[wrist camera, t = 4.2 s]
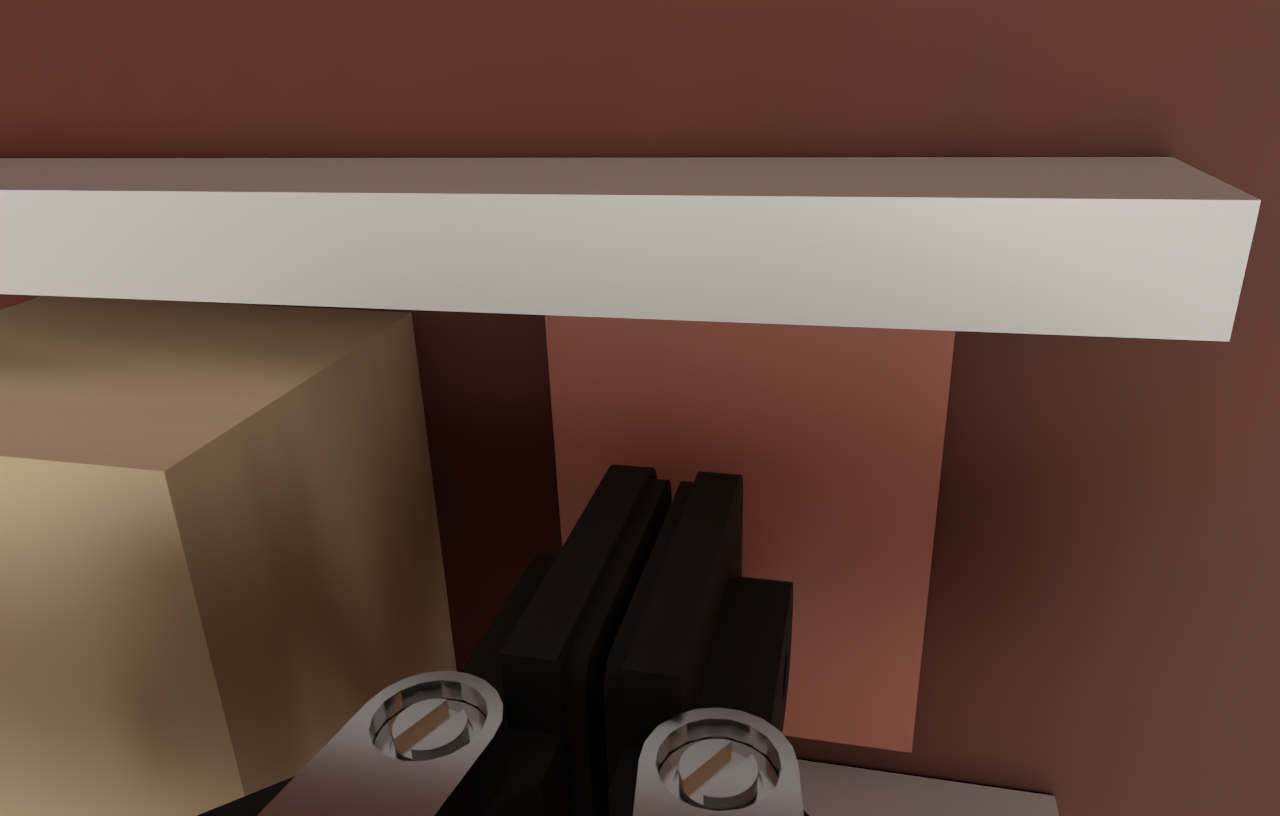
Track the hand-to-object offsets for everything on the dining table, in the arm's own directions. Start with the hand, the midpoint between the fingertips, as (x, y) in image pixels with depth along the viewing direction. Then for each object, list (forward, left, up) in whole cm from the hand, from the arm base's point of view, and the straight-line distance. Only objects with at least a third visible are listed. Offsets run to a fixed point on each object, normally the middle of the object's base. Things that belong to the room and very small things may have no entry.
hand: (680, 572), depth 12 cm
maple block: (0, +7, -1) cm, 7 cm away
